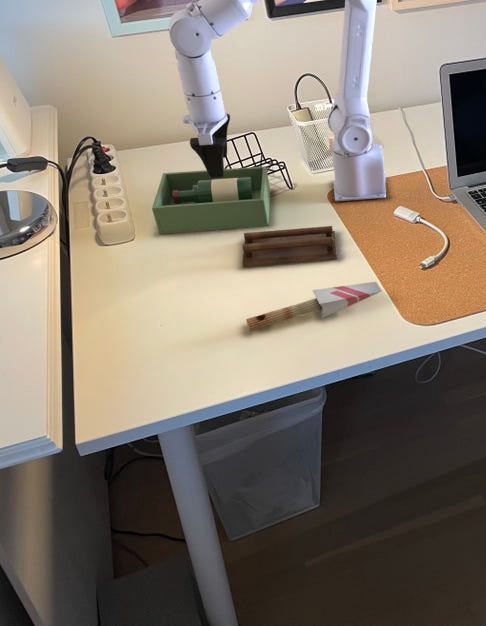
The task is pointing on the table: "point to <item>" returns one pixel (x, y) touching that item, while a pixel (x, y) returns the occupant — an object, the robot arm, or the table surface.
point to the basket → (212, 213)
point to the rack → (289, 246)
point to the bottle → (217, 191)
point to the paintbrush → (318, 304)
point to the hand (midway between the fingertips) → (219, 166)
